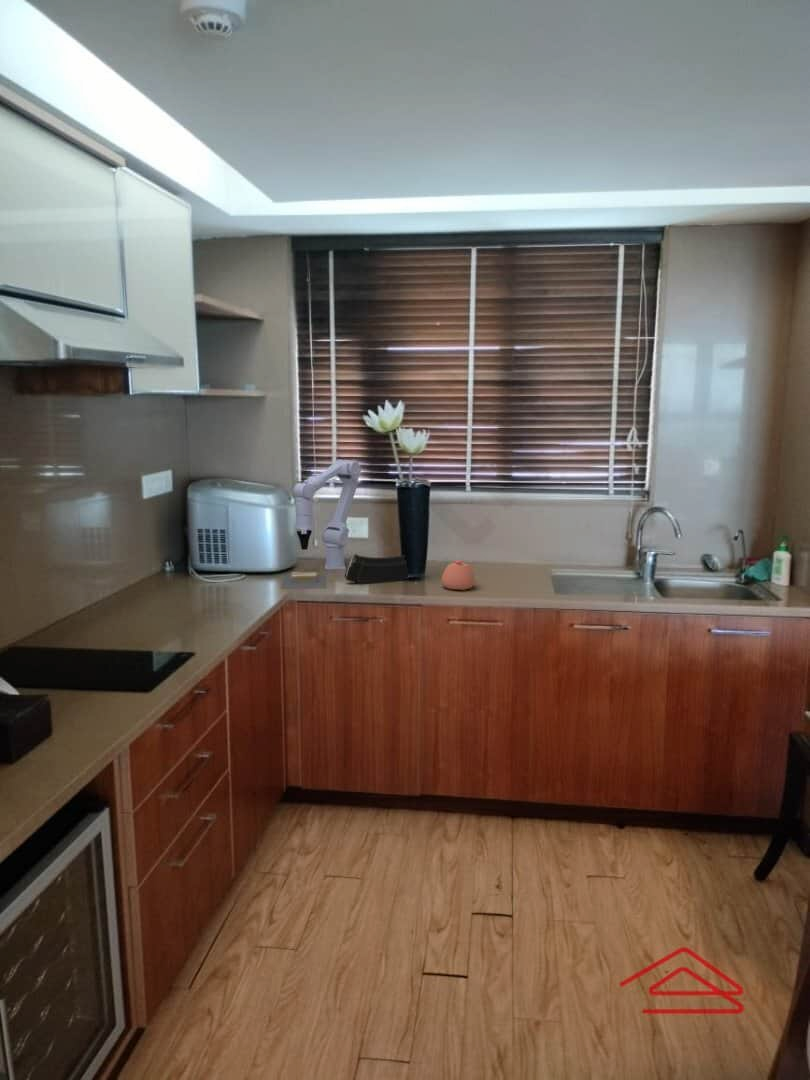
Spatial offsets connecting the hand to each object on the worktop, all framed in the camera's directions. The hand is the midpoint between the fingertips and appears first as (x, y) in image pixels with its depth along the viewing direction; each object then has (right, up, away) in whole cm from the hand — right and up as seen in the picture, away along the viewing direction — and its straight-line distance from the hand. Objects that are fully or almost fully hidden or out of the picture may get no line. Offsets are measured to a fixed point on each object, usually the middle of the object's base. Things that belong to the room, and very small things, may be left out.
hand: (304, 549), depth 288 cm
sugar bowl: (+58, -14, -16) cm, 62 cm away
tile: (+1, -10, -7) cm, 12 cm away
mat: (+1, -12, -11) cm, 16 cm away
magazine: (+31, -12, -8) cm, 34 cm away
